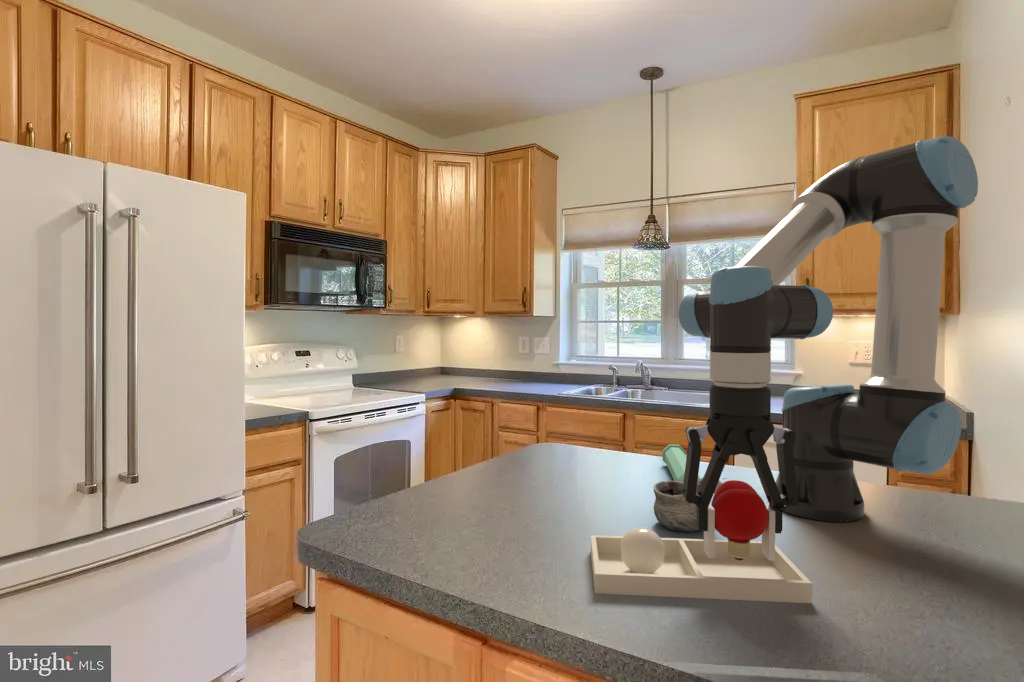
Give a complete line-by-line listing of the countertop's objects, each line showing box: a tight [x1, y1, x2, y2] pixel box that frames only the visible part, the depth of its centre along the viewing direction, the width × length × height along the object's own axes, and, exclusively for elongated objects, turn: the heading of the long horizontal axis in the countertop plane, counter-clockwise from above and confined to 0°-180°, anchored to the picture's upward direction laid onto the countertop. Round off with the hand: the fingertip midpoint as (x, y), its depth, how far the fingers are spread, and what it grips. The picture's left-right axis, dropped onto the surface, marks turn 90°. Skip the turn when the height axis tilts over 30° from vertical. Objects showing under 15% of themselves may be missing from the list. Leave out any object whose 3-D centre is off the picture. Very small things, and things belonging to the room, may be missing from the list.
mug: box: [652, 477, 723, 533], centre depth 92 cm, size 10×12×10 cm
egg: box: [620, 526, 665, 574], centre depth 75 cm, size 6×6×6 cm
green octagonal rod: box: [662, 443, 701, 482], centre depth 123 cm, size 6×6×25 cm
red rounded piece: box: [710, 479, 768, 560], centre depth 74 cm, size 9×7×10 cm
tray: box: [590, 534, 813, 604], centre depth 74 cm, size 26×13×3 cm, turn 84°
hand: (738, 554), depth 74 cm, fingers closed on red rounded piece, 7 cm apart
